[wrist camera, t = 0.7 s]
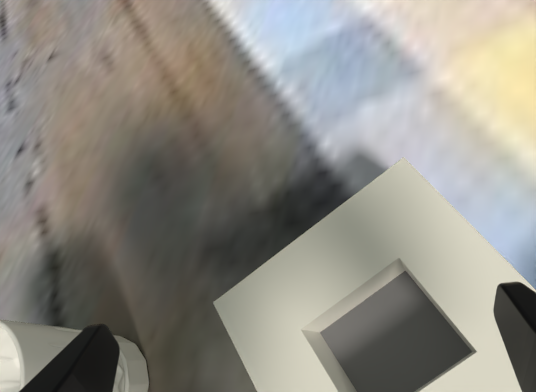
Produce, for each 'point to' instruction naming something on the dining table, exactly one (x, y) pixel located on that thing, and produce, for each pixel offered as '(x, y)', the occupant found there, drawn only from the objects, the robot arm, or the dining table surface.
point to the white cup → (48, 346)
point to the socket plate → (377, 300)
